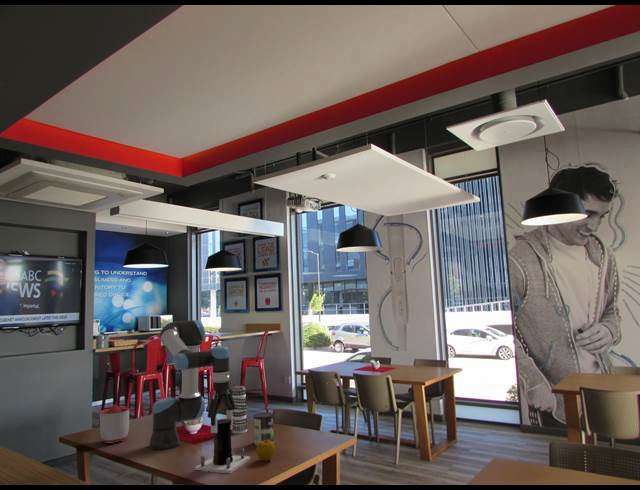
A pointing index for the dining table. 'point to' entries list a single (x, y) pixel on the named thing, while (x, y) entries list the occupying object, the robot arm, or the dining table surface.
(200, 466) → the locating plate
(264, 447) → the apple
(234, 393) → the decorative candle
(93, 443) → the dining table surface
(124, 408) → the citrus juicer
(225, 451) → the container
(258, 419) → the coffee can
